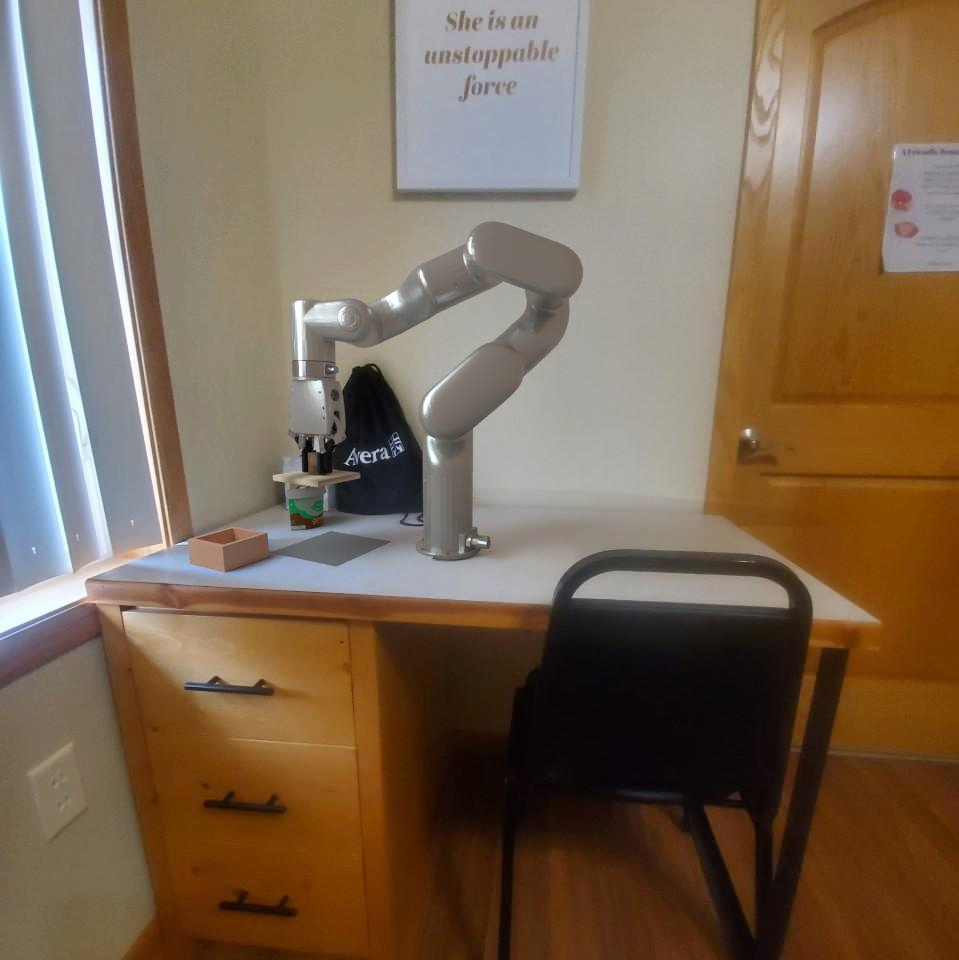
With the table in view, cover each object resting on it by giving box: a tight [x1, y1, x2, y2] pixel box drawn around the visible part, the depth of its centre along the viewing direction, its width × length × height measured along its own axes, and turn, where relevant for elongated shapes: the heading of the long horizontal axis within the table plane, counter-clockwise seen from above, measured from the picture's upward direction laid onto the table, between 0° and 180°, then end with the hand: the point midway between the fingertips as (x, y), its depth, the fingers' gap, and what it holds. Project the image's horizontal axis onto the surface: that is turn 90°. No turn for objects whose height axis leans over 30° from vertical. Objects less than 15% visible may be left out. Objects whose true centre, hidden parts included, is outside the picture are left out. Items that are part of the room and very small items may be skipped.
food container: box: [286, 485, 328, 532], centre depth 108 cm, size 12×6×10 cm, turn 179°
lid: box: [272, 451, 361, 487], centre depth 90 cm, size 11×11×5 cm
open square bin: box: [187, 526, 270, 573], centre depth 86 cm, size 9×9×5 cm
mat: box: [269, 530, 392, 567], centre depth 94 cm, size 16×16×1 cm
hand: (317, 471), depth 90 cm, fingers closed on lid, 3 cm apart
